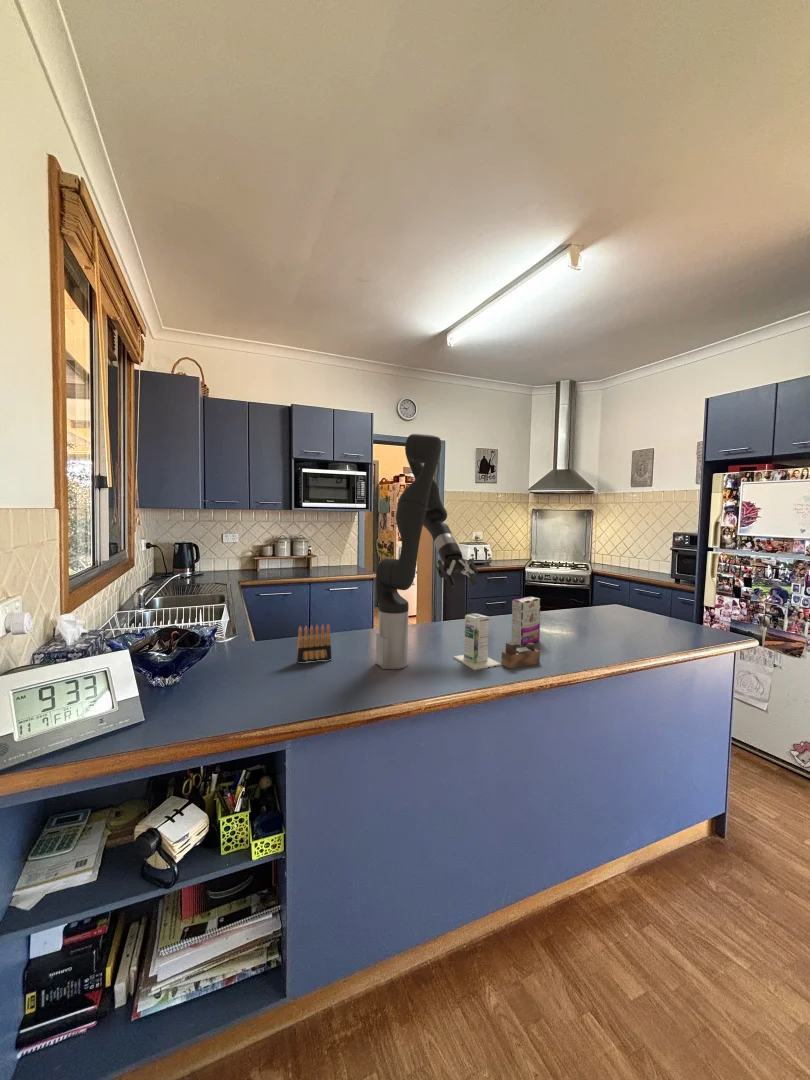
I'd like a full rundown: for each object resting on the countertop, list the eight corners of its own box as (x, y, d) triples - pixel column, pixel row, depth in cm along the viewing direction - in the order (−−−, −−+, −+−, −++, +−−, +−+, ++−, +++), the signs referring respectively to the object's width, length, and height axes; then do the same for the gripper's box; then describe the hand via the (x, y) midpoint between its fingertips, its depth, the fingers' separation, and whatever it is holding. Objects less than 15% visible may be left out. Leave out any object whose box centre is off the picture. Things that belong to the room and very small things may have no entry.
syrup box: (462, 658, 145) (464, 614, 144) (475, 655, 149) (477, 612, 148) (475, 664, 140) (476, 618, 139) (488, 660, 144) (489, 616, 143)
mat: (474, 670, 137) (474, 668, 137) (453, 658, 148) (453, 656, 148) (500, 665, 141) (500, 663, 141) (479, 654, 152) (479, 652, 152)
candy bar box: (528, 638, 172) (530, 596, 171) (539, 641, 168) (541, 598, 167) (510, 643, 165) (511, 599, 164) (521, 646, 161) (523, 601, 160)
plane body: (509, 668, 139) (510, 646, 138) (501, 664, 142) (502, 642, 142) (539, 663, 144) (540, 641, 143) (531, 659, 148) (531, 638, 147)
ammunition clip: (297, 664, 139) (297, 626, 139) (296, 662, 141) (296, 625, 140) (331, 660, 143) (331, 624, 142) (330, 659, 145) (330, 622, 144)
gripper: (434, 542, 154) (450, 580, 145) (469, 541, 160) (486, 577, 151) (426, 555, 160) (441, 593, 150) (460, 554, 166) (477, 590, 156)
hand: (464, 585), depth 150 cm, fingers open, 8 cm apart
